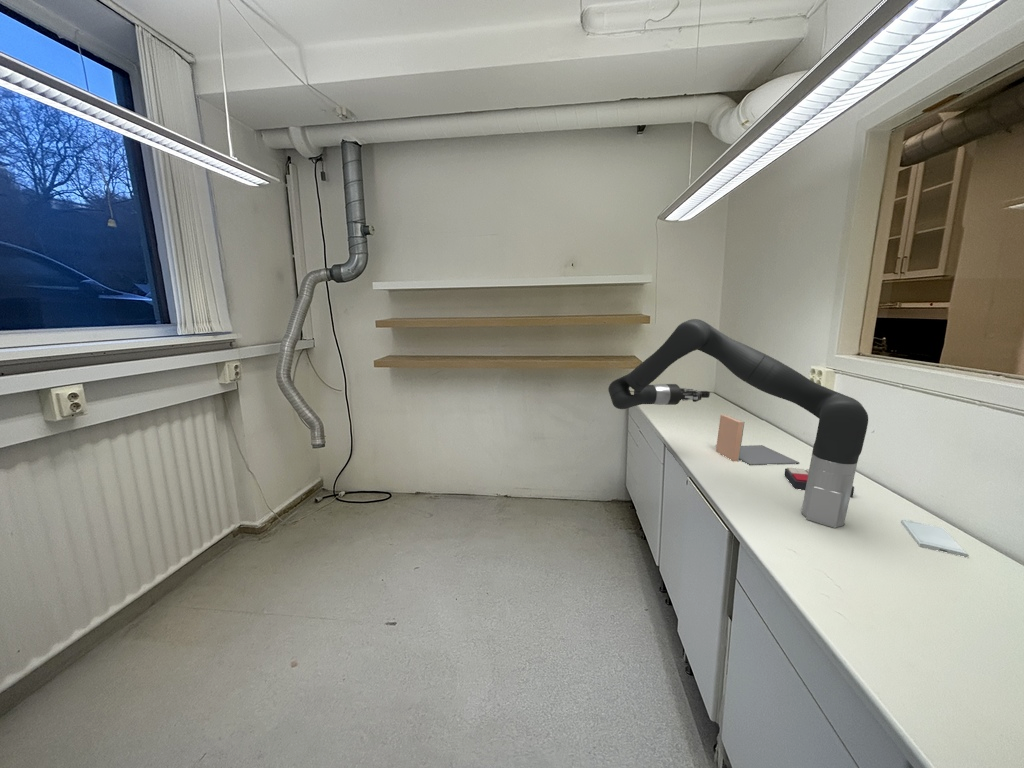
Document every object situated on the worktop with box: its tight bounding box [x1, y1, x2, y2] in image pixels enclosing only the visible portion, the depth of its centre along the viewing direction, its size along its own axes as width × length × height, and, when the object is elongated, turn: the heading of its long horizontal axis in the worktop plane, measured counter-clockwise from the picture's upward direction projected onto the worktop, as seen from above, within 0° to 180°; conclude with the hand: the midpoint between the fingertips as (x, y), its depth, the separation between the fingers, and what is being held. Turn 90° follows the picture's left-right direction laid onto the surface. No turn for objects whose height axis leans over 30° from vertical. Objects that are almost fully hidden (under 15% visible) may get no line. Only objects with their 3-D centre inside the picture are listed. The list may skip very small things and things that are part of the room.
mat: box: [739, 444, 800, 466], centre depth 149 cm, size 20×18×1 cm
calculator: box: [784, 467, 855, 498], centre depth 124 cm, size 11×4×15 cm
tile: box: [715, 414, 745, 462], centre depth 146 cm, size 2×10×15 cm, turn 8°
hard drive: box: [900, 519, 970, 558], centre depth 96 cm, size 2×8×12 cm
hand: (708, 394), depth 141 cm, fingers closed
